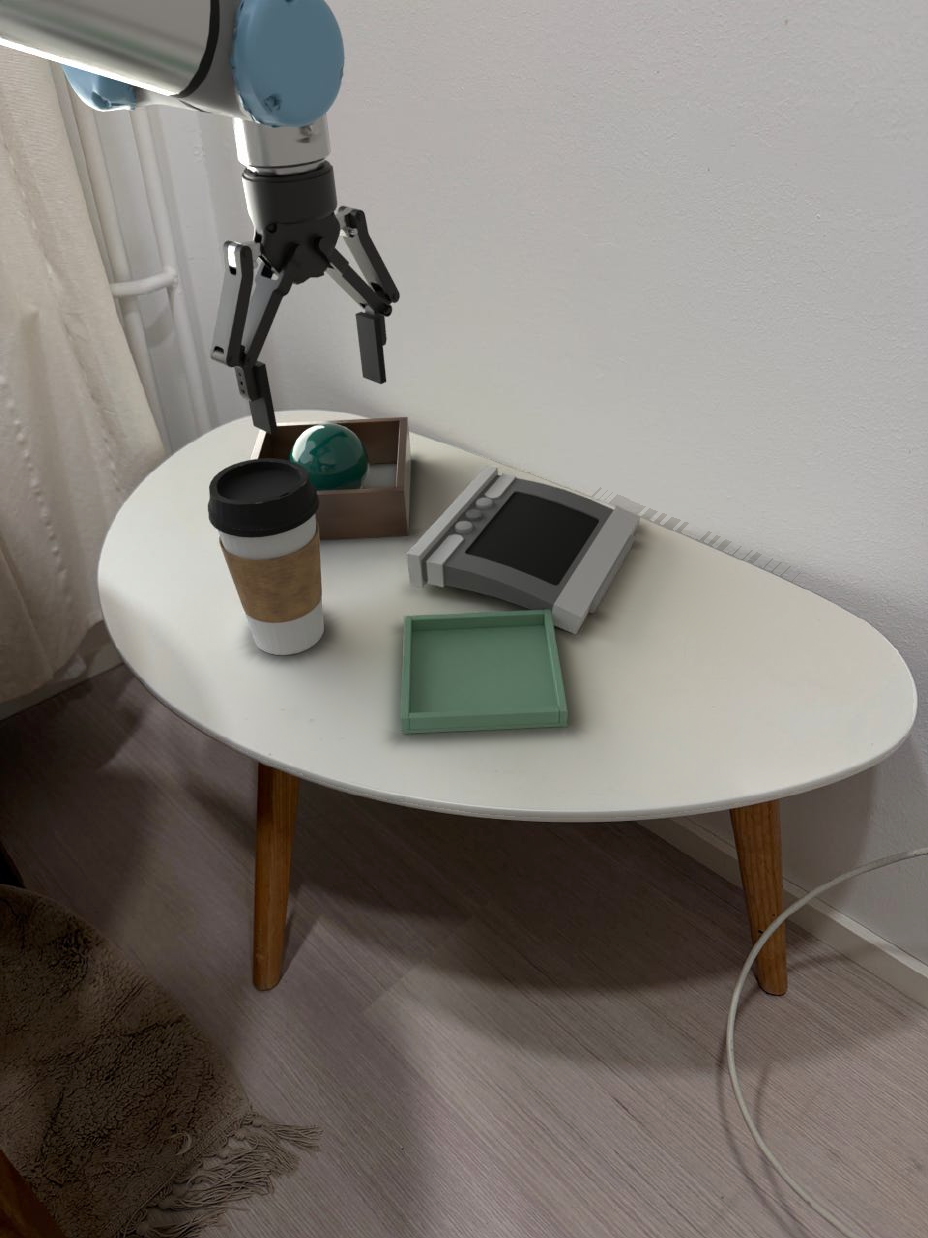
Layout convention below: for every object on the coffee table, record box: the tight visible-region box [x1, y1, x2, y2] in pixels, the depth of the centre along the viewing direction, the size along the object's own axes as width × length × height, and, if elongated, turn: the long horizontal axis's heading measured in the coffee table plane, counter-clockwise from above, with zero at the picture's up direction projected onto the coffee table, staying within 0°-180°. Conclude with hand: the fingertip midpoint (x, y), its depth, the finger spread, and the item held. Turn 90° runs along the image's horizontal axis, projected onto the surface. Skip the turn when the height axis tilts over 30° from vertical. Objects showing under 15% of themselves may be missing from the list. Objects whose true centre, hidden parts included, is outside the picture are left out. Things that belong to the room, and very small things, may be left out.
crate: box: [249, 416, 412, 541], centre depth 94 cm, size 16×16×5 cm
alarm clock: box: [406, 465, 641, 635], centre depth 84 cm, size 17×5×16 cm
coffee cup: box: [207, 458, 325, 656], centre depth 73 cm, size 8×8×15 cm
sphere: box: [289, 423, 370, 491], centre depth 93 cm, size 8×8×8 cm
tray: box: [400, 609, 569, 735], centre depth 72 cm, size 12×12×2 cm
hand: (322, 403), depth 89 cm, fingers open, 13 cm apart
